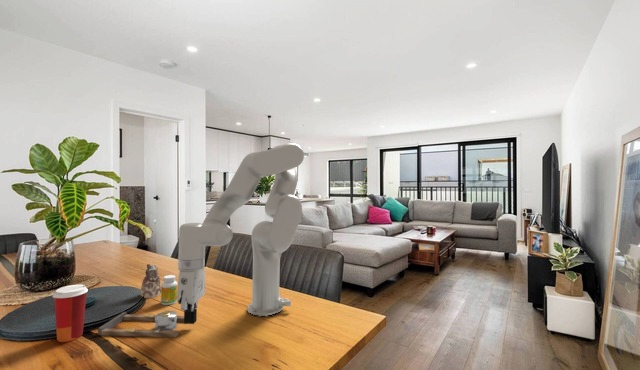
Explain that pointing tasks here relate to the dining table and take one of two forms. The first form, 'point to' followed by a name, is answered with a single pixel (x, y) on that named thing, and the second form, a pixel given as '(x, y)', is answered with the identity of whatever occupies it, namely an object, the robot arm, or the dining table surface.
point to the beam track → (136, 332)
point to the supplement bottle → (169, 290)
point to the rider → (166, 320)
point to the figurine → (151, 282)
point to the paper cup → (70, 312)
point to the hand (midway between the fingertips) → (190, 322)
